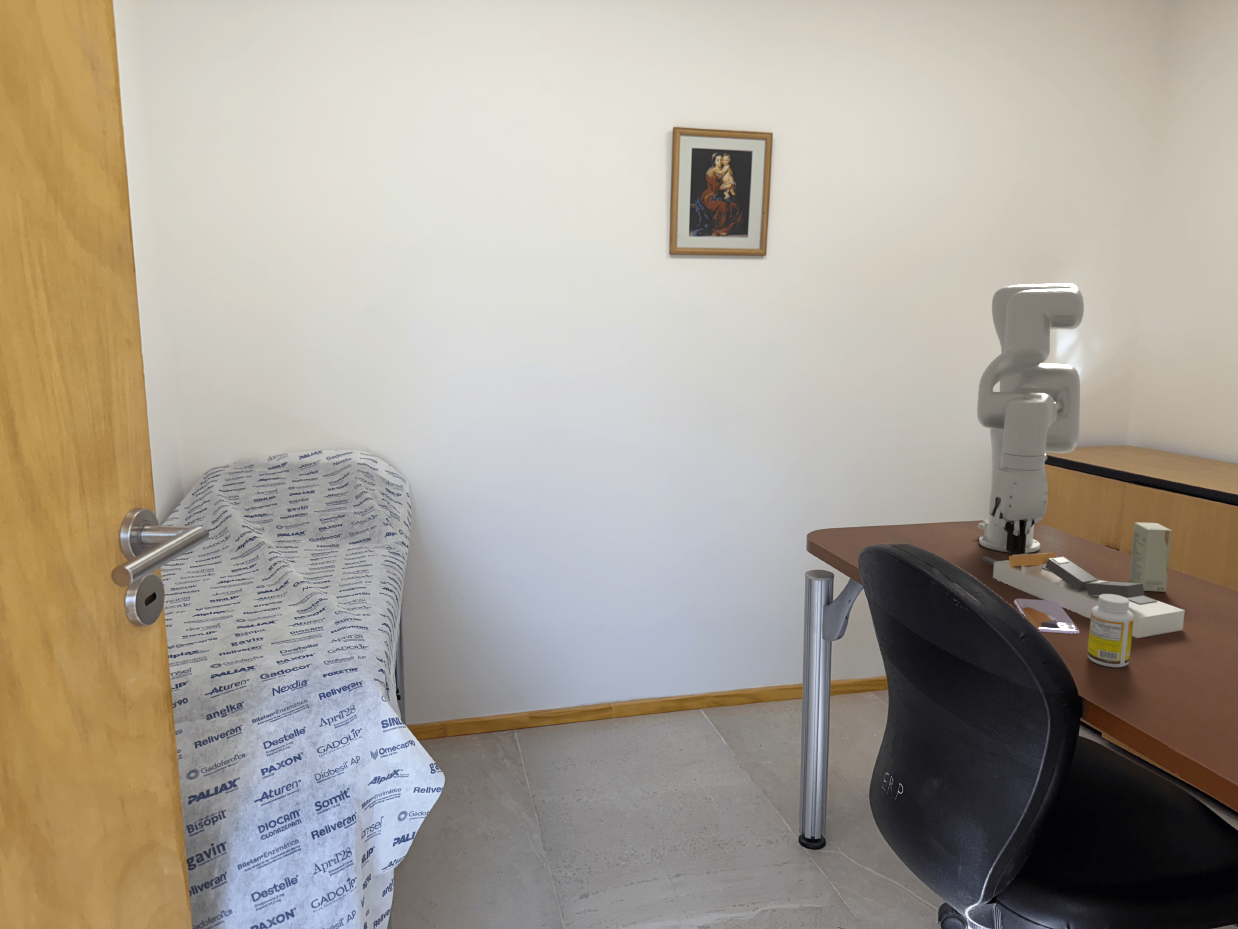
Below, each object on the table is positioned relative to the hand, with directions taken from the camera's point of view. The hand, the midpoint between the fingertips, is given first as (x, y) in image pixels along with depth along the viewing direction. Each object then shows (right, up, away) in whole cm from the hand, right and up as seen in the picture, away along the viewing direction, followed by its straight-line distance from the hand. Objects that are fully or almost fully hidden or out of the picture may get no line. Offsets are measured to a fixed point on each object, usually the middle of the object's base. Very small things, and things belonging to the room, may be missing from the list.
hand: (1015, 552), depth 158 cm
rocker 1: (+1, -1, -4) cm, 4 cm away
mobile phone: (-3, -10, -17) cm, 20 cm away
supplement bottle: (-3, -13, -35) cm, 38 cm away
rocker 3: (+7, -4, -21) cm, 22 cm away
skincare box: (+24, -7, -3) cm, 25 cm away
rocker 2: (+4, -3, -12) cm, 13 cm away
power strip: (+5, -7, -7) cm, 11 cm away
